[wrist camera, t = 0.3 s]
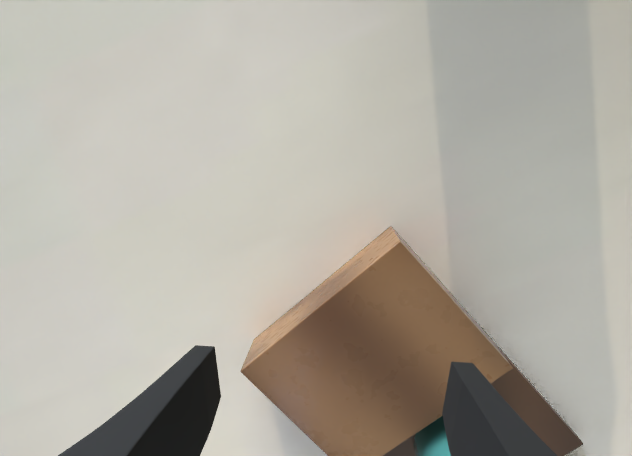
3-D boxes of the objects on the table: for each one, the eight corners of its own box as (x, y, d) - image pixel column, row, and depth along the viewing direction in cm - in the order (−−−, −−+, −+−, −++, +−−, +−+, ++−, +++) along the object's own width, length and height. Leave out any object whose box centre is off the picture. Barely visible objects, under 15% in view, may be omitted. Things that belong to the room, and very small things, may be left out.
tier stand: (435, 518, 25) (448, 572, 22) (253, 339, 23) (239, 371, 20) (575, 434, 23) (613, 480, 20) (390, 225, 20) (400, 241, 17)
